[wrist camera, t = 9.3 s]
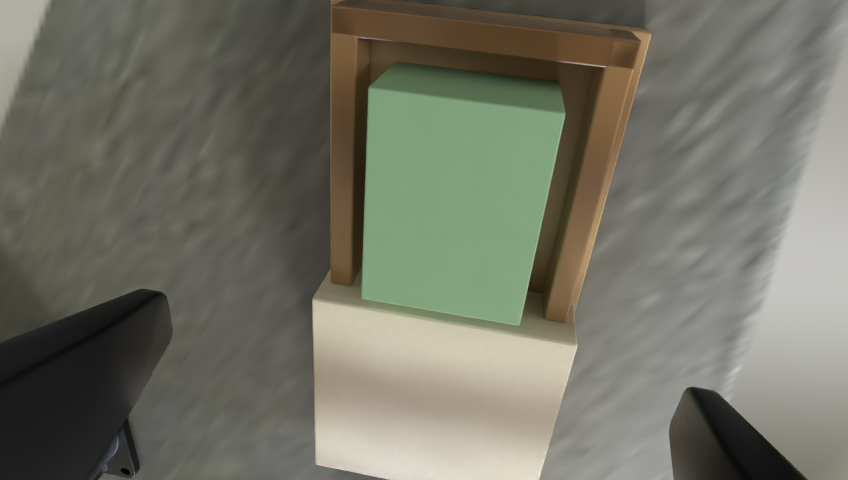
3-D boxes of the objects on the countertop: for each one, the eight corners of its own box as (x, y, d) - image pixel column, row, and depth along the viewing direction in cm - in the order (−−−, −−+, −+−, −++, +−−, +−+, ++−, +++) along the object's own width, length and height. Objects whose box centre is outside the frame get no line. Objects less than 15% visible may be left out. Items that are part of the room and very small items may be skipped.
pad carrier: (534, 443, 22) (535, 514, 20) (335, 404, 23) (309, 467, 21) (646, 28, 14) (673, 50, 12) (338, -7, 15) (296, 6, 13)
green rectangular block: (521, 269, 18) (519, 326, 15) (384, 247, 18) (360, 298, 16) (559, 81, 15) (566, 112, 12) (395, 60, 15) (367, 86, 13)
